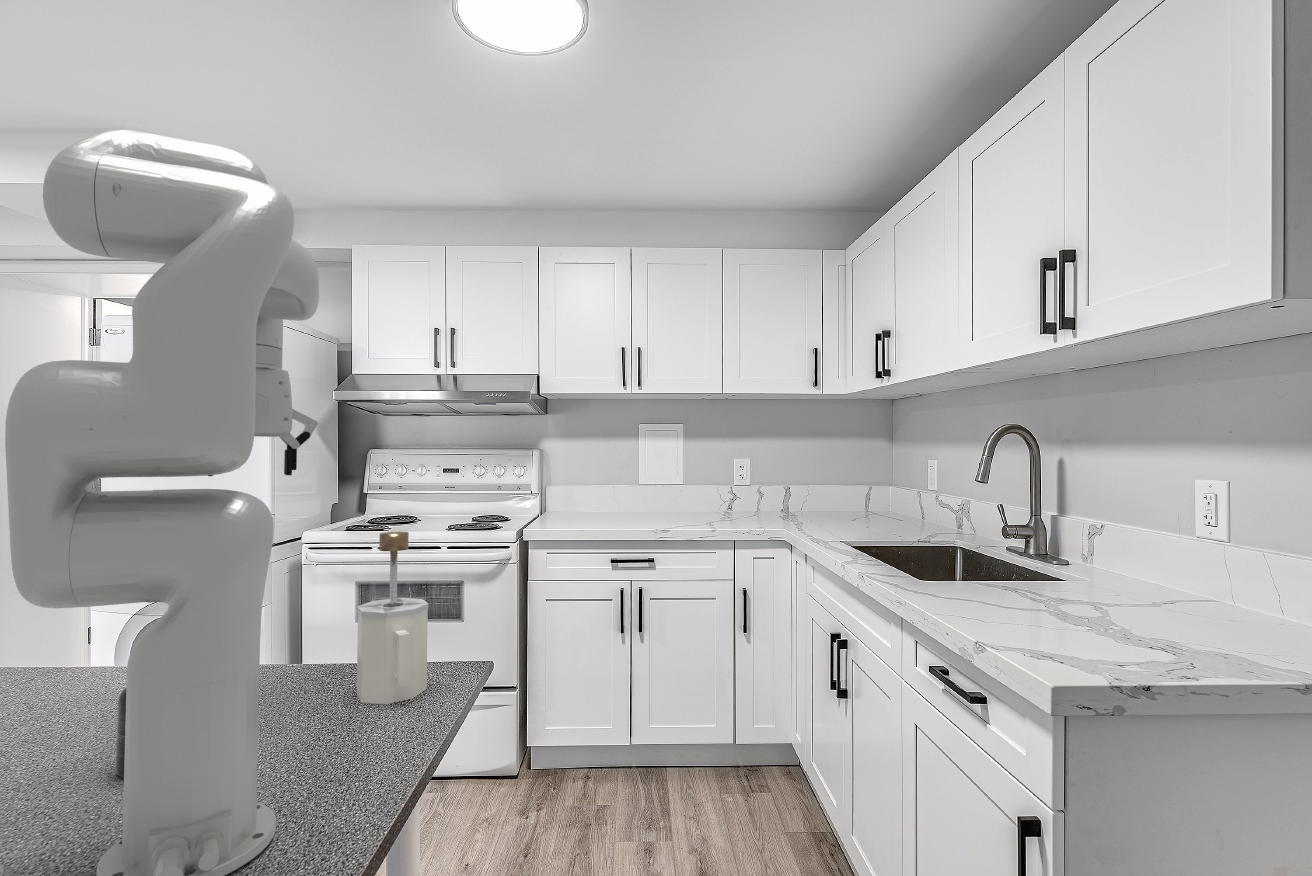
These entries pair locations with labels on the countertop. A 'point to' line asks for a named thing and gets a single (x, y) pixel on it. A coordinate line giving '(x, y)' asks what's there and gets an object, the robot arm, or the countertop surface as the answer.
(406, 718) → the countertop surface
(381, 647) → the press pot
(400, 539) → the plunger
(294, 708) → the countertop surface
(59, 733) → the countertop surface
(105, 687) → the countertop surface
